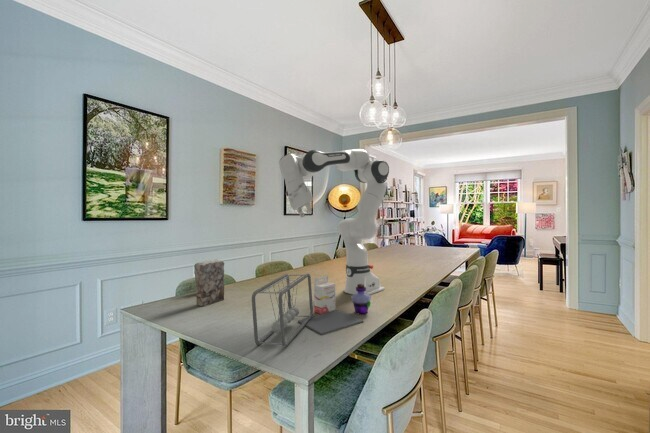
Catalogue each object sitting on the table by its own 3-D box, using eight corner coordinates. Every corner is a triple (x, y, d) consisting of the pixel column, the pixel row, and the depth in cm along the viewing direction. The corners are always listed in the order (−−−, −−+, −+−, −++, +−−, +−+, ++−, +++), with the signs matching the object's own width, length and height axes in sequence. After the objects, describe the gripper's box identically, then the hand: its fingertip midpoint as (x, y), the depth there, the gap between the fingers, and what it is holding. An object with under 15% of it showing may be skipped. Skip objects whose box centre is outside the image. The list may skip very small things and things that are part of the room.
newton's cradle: (284, 349, 96) (280, 293, 96) (254, 347, 99) (250, 292, 98) (313, 315, 125) (310, 272, 124) (289, 315, 128) (286, 272, 127)
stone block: (204, 307, 142) (203, 264, 141) (194, 305, 145) (193, 263, 144) (226, 299, 153) (225, 259, 153) (216, 298, 156) (215, 258, 156)
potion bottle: (370, 316, 126) (370, 287, 125) (349, 315, 128) (349, 286, 127) (372, 309, 134) (371, 282, 134) (352, 308, 136) (352, 281, 136)
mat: (338, 311, 132) (338, 310, 132) (363, 322, 119) (363, 320, 119) (298, 321, 121) (298, 320, 121) (321, 335, 108) (321, 333, 108)
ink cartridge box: (322, 314, 129) (321, 279, 128) (314, 312, 132) (313, 278, 132) (336, 309, 135) (335, 276, 134) (328, 307, 138) (327, 274, 138)
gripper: (310, 179, 137) (320, 209, 137) (295, 191, 156) (305, 216, 155) (297, 183, 135) (308, 213, 134) (284, 194, 153) (293, 220, 153)
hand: (306, 215), depth 145 cm, fingers open, 8 cm apart
